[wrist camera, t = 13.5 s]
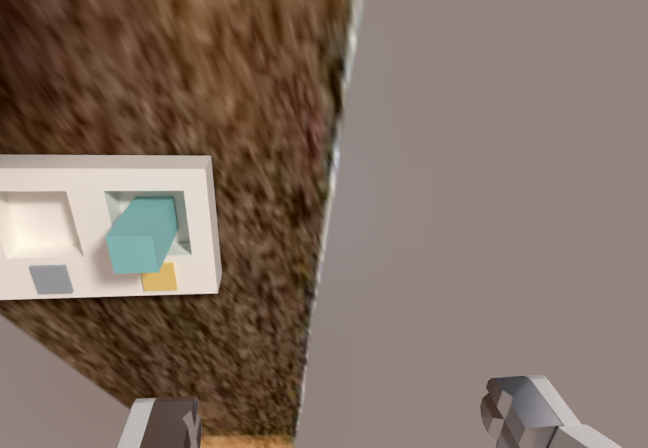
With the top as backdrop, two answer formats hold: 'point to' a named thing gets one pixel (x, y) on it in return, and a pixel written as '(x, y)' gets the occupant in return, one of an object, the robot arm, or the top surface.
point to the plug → (143, 235)
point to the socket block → (101, 225)
